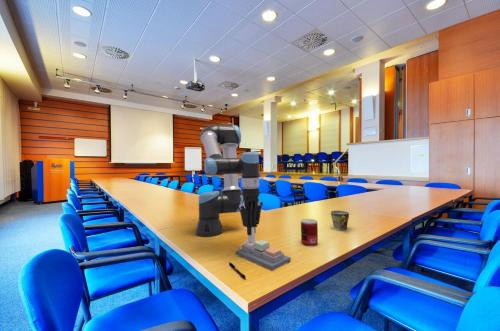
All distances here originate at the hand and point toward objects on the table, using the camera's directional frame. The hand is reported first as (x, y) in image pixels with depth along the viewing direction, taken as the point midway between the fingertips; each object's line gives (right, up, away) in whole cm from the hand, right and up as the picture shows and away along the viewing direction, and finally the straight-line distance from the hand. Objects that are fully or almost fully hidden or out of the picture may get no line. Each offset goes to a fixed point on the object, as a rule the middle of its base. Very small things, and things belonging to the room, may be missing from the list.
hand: (251, 241), depth 94 cm
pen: (-5, -6, -16) cm, 17 cm away
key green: (+4, -1, -4) cm, 6 cm away
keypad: (+4, -5, -4) cm, 8 cm away
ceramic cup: (+52, -5, +32) cm, 61 cm away
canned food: (+28, -5, +11) cm, 31 cm away
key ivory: (0, -3, 0) cm, 3 cm away
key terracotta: (+8, -3, -9) cm, 13 cm away
